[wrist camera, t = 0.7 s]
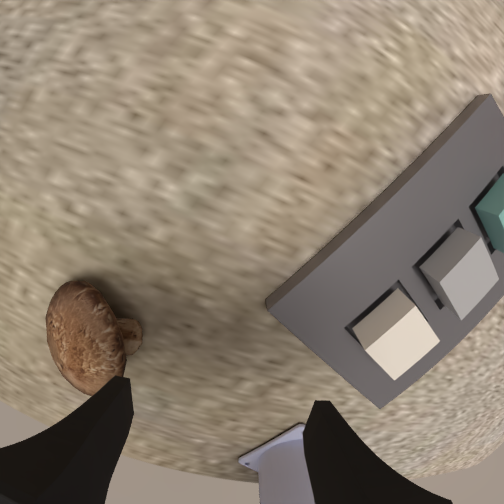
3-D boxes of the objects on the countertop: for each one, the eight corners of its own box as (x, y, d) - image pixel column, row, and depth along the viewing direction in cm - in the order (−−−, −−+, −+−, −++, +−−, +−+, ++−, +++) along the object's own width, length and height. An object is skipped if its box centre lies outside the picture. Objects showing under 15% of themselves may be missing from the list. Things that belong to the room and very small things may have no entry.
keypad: (537, 229, 20) (548, 234, 18) (374, 397, 24) (379, 409, 23) (477, 95, 17) (490, 93, 15) (265, 299, 21) (267, 310, 19)
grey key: (478, 266, 19) (499, 279, 16) (442, 303, 20) (461, 320, 17) (457, 226, 18) (481, 237, 15) (419, 267, 19) (439, 282, 16)
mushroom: (180, 356, 18) (94, 397, 13) (137, 385, 23) (73, 415, 18) (124, 249, 20) (39, 265, 15) (94, 302, 25) (30, 320, 20)
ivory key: (422, 322, 20) (440, 341, 17) (381, 358, 21) (394, 380, 18) (397, 287, 19) (415, 305, 17) (352, 328, 20) (364, 350, 17)
